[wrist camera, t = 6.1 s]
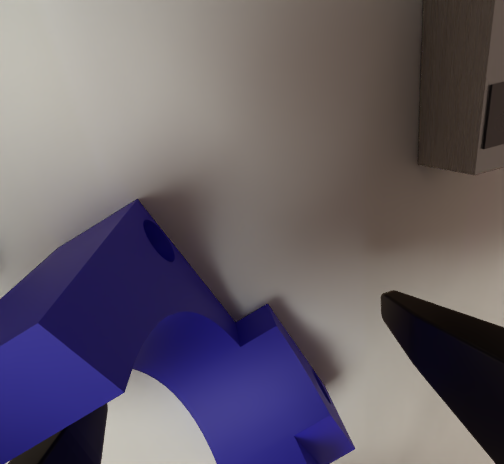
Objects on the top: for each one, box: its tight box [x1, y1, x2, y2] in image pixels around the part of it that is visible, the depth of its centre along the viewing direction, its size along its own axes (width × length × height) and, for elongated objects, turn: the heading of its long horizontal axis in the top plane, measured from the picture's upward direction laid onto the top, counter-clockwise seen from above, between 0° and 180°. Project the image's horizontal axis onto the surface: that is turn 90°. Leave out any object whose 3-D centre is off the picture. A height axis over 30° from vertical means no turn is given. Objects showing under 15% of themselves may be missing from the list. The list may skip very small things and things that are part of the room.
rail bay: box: [418, 0, 504, 175], centre depth 6 cm, size 9×17×2 cm, turn 102°
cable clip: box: [0, 199, 355, 464], centre depth 8 cm, size 12×4×6 cm, turn 30°
